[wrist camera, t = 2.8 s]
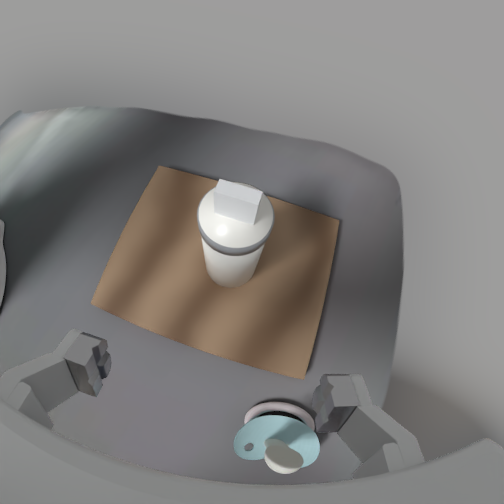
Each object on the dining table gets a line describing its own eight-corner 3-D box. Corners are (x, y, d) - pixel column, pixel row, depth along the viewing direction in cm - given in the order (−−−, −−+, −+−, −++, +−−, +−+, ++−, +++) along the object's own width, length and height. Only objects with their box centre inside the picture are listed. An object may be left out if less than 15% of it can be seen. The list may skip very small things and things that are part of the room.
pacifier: (247, 391, 22) (226, 449, 19) (257, 401, 16) (229, 475, 14) (323, 410, 22) (303, 465, 19) (353, 420, 16) (327, 489, 13)
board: (95, 306, 23) (90, 303, 21) (161, 172, 29) (159, 165, 28) (300, 378, 22) (303, 379, 21) (335, 225, 28) (339, 220, 27)
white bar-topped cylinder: (197, 279, 23) (179, 215, 13) (215, 233, 25) (213, 150, 15) (247, 295, 23) (269, 243, 13) (262, 248, 25) (290, 172, 15)
